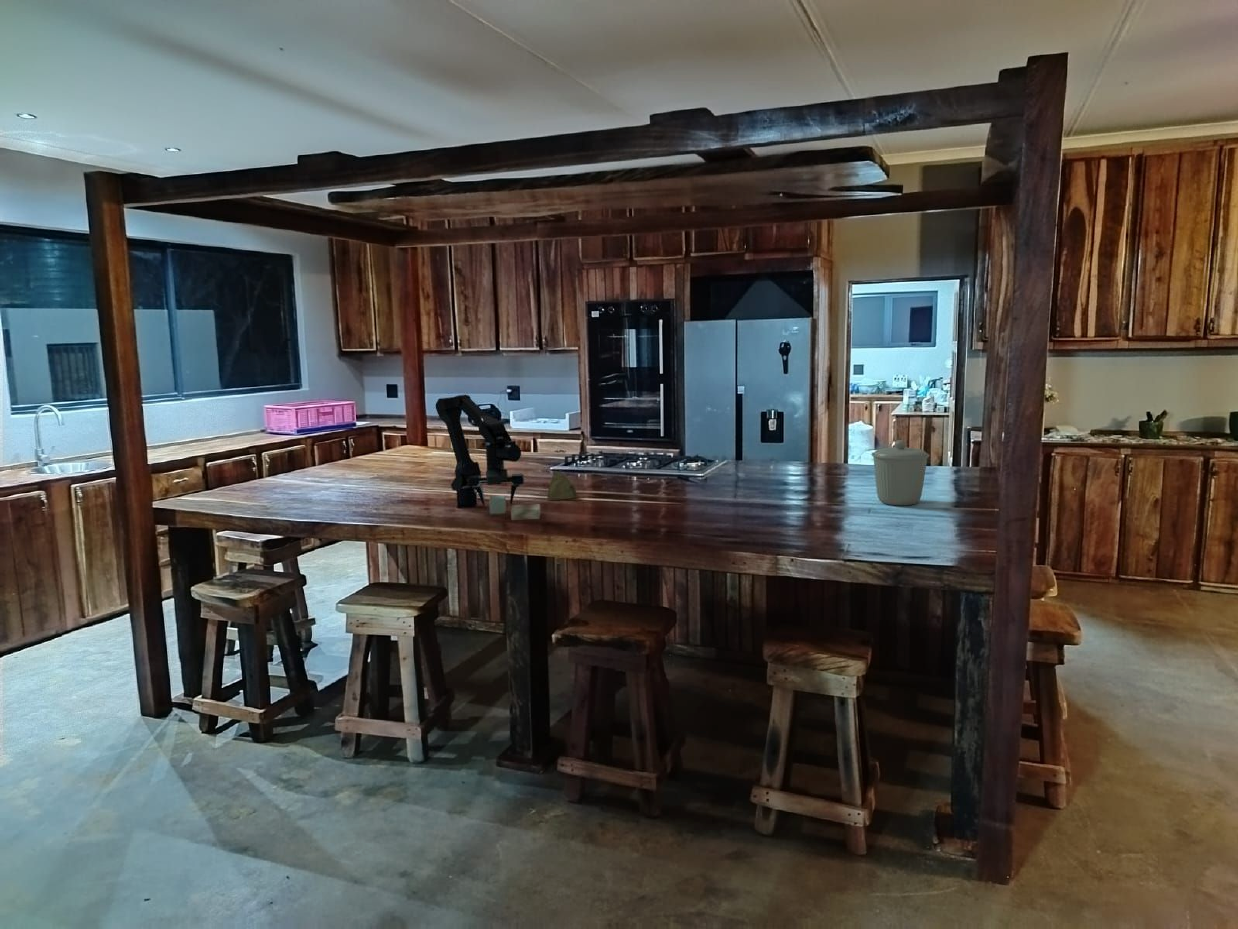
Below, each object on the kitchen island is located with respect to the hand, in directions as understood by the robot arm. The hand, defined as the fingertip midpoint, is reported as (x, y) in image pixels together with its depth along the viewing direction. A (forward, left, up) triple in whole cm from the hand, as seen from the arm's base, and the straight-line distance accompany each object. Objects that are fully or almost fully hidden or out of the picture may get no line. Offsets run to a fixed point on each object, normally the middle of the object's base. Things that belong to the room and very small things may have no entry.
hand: (497, 504), depth 275 cm
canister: (+134, -13, -3) cm, 135 cm away
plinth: (+10, -9, -2) cm, 14 cm away
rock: (+22, +18, -3) cm, 29 cm away
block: (0, 0, -2) cm, 3 cm away
